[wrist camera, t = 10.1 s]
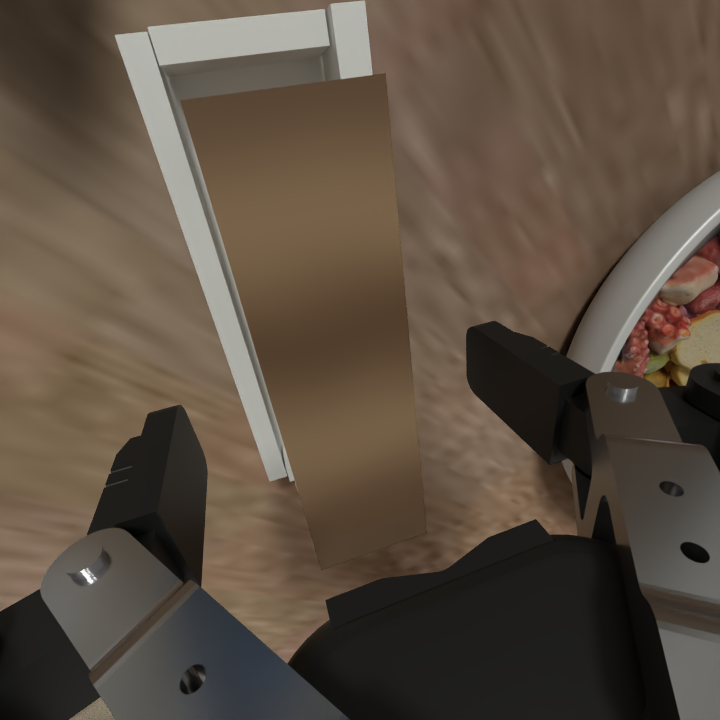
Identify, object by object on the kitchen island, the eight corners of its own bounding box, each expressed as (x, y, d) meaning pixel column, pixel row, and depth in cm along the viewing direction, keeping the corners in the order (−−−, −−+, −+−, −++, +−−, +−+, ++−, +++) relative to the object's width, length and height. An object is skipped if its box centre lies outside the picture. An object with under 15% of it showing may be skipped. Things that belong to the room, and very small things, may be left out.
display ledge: (263, 454, 25) (267, 495, 22) (125, 53, 15) (99, 26, 12) (391, 416, 26) (411, 449, 23) (340, 29, 16) (364, 0, 13)
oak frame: (357, 394, 23) (430, 531, 15) (284, 414, 23) (317, 571, 14) (309, 117, 17) (392, 72, 8) (204, 133, 16) (171, 101, 7)
